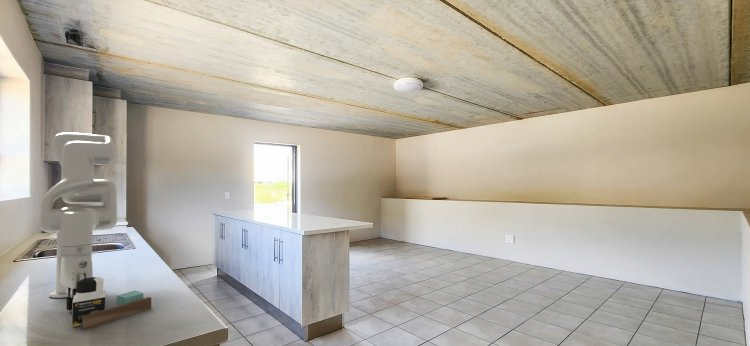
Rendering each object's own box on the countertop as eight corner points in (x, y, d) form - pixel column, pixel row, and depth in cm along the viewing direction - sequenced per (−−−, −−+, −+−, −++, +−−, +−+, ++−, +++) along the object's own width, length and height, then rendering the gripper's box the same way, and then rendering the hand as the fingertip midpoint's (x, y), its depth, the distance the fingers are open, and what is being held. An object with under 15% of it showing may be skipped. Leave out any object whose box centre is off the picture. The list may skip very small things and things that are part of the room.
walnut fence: (81, 328, 89) (81, 315, 89) (147, 307, 104) (148, 296, 104) (84, 329, 88) (84, 317, 88) (151, 308, 103) (151, 297, 103)
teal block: (116, 311, 101) (117, 295, 101) (134, 305, 106) (134, 290, 106) (125, 314, 99) (125, 297, 99) (143, 308, 103) (143, 292, 104)
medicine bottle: (71, 327, 90) (73, 284, 90) (73, 319, 95) (74, 278, 96) (104, 320, 94) (106, 279, 95) (104, 312, 100) (105, 273, 100)
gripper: (102, 250, 101) (100, 309, 101) (79, 245, 108) (78, 300, 108) (71, 255, 95) (69, 318, 94) (49, 249, 101) (47, 308, 101)
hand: (74, 308), depth 101 cm, fingers closed
